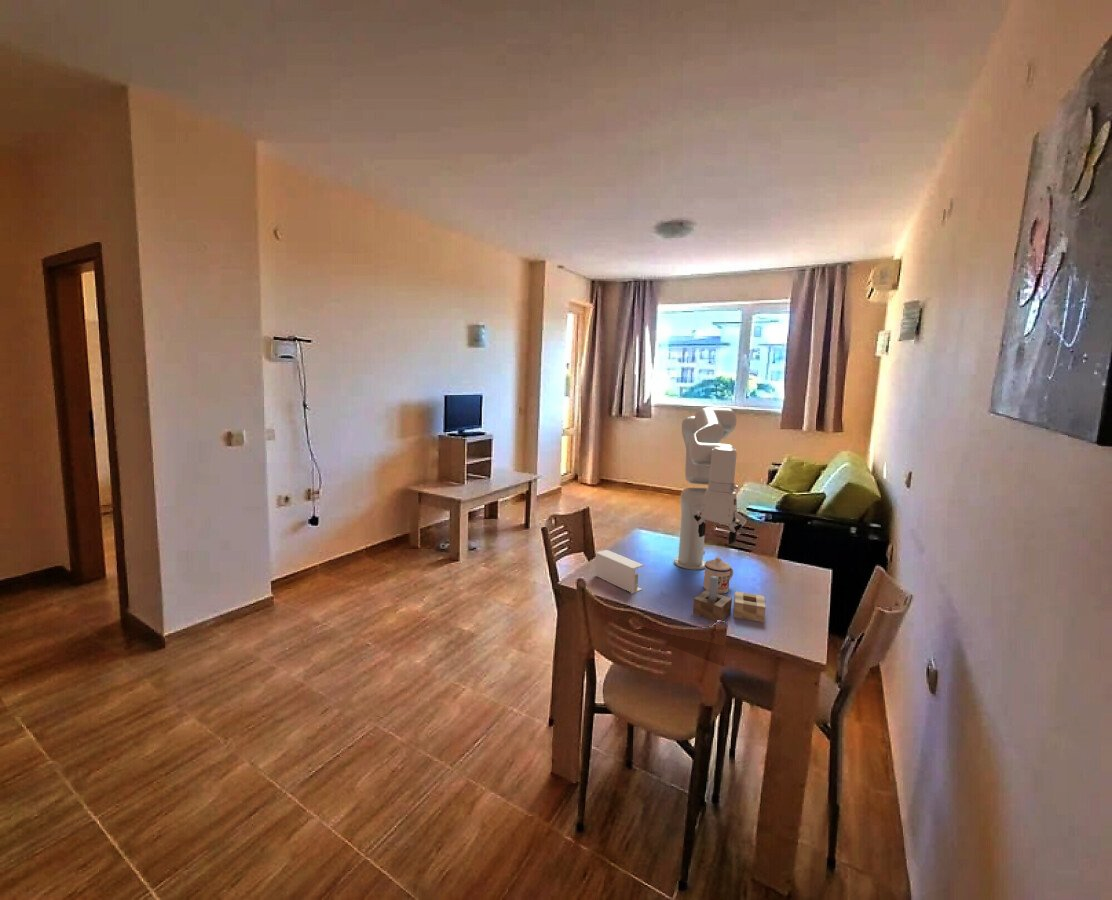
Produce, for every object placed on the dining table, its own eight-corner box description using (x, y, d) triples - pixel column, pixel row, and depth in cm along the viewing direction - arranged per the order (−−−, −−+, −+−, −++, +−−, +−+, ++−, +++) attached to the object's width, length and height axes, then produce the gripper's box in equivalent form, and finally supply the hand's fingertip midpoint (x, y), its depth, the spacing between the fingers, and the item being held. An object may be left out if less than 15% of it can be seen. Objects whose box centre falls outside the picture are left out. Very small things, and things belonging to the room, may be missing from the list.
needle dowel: (709, 610, 167) (711, 575, 166) (717, 613, 166) (719, 577, 164) (706, 613, 165) (708, 577, 164) (713, 615, 164) (716, 579, 162)
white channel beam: (642, 590, 181) (644, 565, 180) (631, 594, 178) (633, 568, 176) (603, 572, 197) (604, 548, 195) (592, 575, 193) (593, 551, 192)
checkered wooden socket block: (733, 605, 172) (735, 591, 171) (762, 610, 169) (764, 595, 168) (733, 617, 163) (735, 602, 162) (764, 622, 160) (765, 607, 160)
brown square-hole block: (704, 604, 172) (705, 590, 171) (730, 612, 166) (732, 598, 165) (692, 613, 165) (693, 598, 164) (720, 622, 159) (721, 607, 158)
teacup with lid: (715, 596, 179) (718, 564, 177) (697, 586, 187) (699, 555, 185) (740, 590, 184) (743, 559, 182) (722, 581, 192) (724, 551, 190)
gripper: (752, 489, 158) (747, 543, 160) (699, 480, 168) (695, 531, 171) (744, 493, 152) (739, 549, 154) (689, 484, 162) (685, 536, 165)
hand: (716, 539), depth 163 cm, fingers open, 9 cm apart
